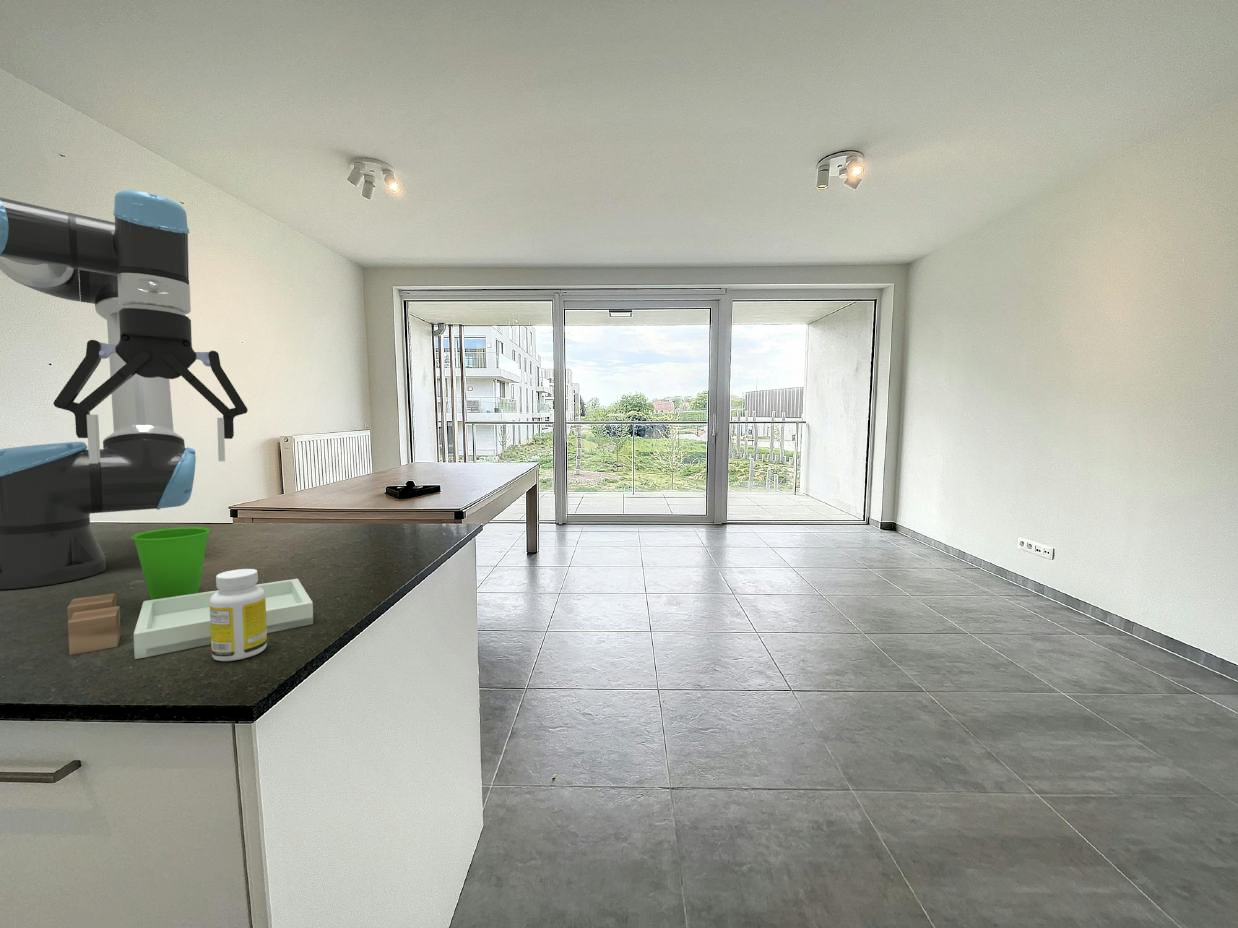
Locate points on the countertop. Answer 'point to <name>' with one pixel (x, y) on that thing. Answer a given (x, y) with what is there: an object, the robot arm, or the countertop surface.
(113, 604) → the walnut block
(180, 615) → the tray
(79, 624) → the walnut block
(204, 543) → the cup
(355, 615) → the countertop surface
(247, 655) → the supplement bottle
